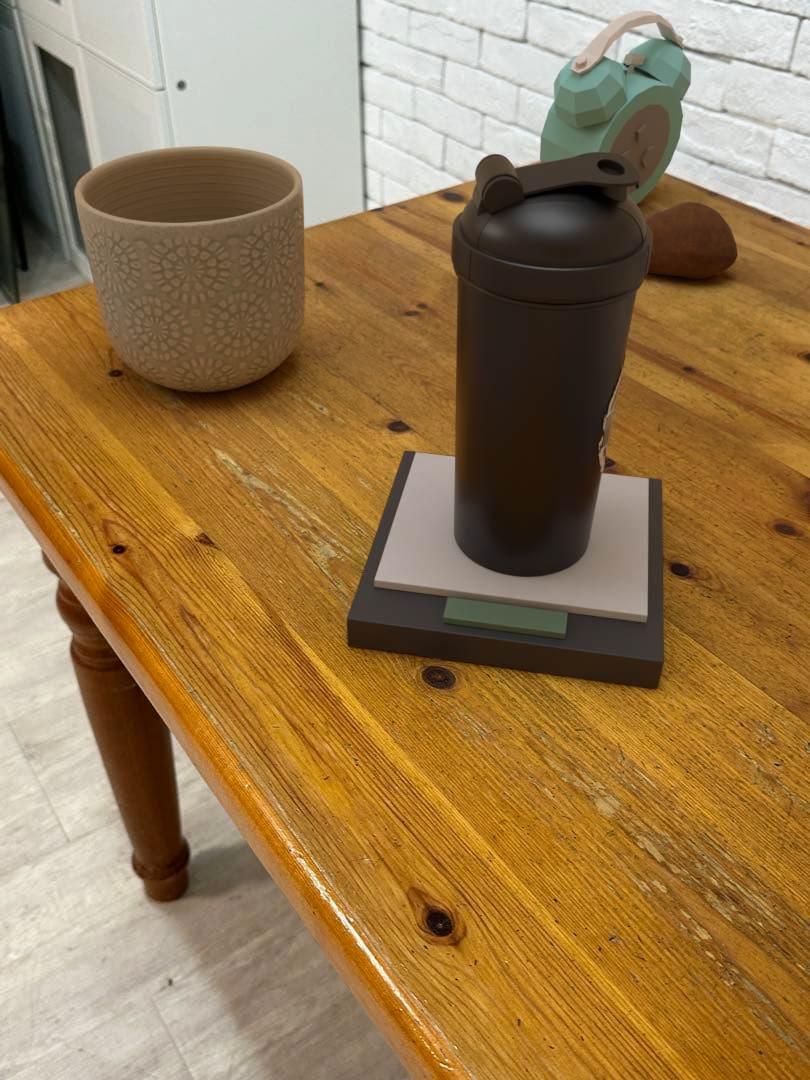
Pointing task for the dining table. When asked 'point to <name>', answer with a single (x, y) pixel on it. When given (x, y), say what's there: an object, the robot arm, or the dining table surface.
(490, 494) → the water bottle
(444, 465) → the scale
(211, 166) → the planter
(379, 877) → the dining table surface
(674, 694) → the dining table surface
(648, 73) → the alarm clock
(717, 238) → the potato
